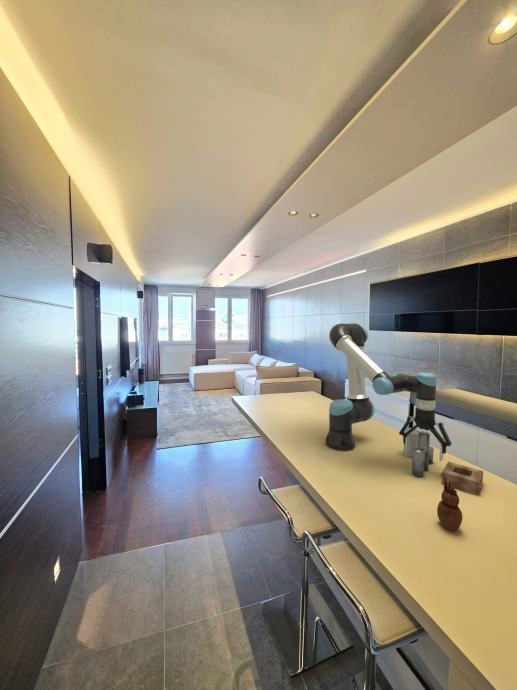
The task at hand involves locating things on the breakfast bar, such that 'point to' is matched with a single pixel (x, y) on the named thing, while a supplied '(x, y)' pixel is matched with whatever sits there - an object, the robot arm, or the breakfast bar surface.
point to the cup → (411, 441)
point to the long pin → (424, 447)
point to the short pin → (431, 455)
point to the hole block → (463, 477)
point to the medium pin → (418, 462)
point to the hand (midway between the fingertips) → (423, 455)
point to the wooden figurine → (449, 508)
